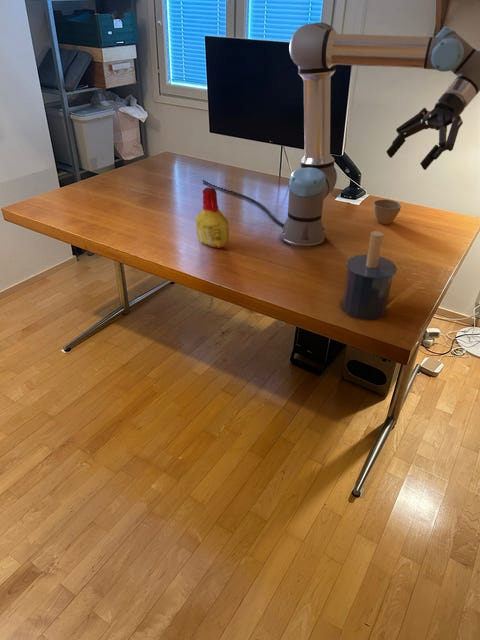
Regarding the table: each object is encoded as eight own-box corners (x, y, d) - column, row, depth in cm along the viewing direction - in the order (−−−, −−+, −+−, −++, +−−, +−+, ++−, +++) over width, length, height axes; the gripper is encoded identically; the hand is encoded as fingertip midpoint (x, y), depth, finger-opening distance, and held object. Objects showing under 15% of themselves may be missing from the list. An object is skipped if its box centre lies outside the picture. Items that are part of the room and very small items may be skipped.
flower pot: (398, 228, 178) (402, 209, 174) (371, 225, 180) (374, 207, 176) (396, 218, 186) (400, 200, 182) (370, 216, 188) (373, 198, 184)
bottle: (192, 244, 165) (190, 187, 154) (203, 237, 170) (201, 181, 159) (222, 252, 160) (221, 193, 149) (232, 245, 165) (232, 188, 154)
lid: (336, 270, 125) (341, 234, 119) (361, 254, 133) (367, 219, 127) (381, 287, 118) (388, 249, 112) (404, 268, 126) (412, 232, 120)
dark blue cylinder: (334, 308, 132) (339, 268, 125) (355, 292, 139) (362, 253, 132) (372, 324, 125) (380, 283, 118) (392, 307, 133) (401, 267, 126)
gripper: (495, 117, 131) (443, 180, 133) (426, 102, 149) (380, 158, 151) (488, 98, 126) (433, 163, 128) (417, 85, 144) (370, 142, 146)
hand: (405, 160), depth 140 cm, fingers open, 13 cm apart
